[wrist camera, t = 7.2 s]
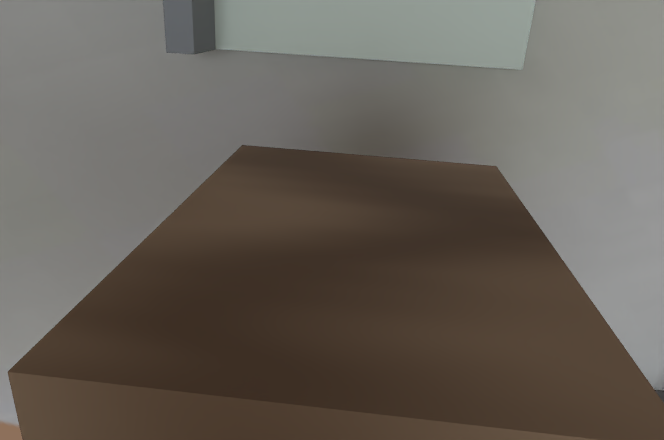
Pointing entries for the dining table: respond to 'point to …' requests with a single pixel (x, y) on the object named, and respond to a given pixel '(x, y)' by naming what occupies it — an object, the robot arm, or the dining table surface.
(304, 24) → the tray
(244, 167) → the brown rectangular block
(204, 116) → the dining table surface
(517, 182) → the dining table surface
